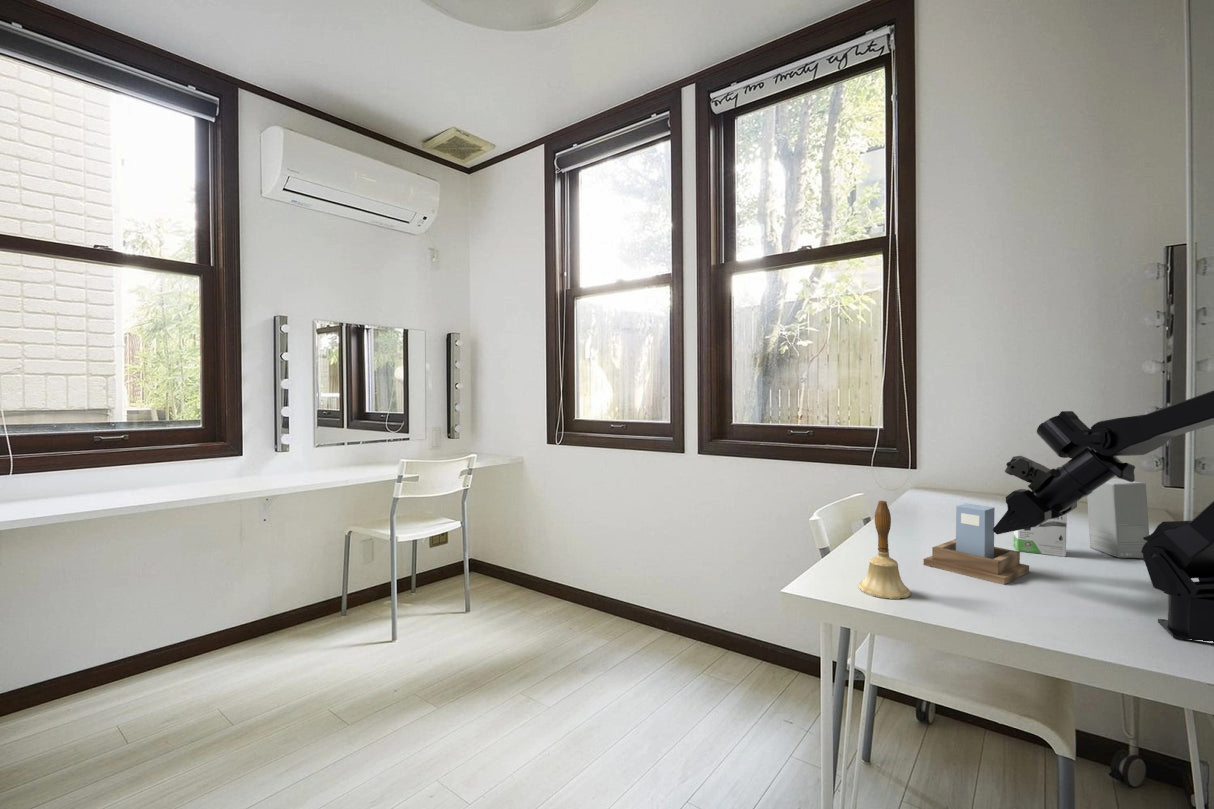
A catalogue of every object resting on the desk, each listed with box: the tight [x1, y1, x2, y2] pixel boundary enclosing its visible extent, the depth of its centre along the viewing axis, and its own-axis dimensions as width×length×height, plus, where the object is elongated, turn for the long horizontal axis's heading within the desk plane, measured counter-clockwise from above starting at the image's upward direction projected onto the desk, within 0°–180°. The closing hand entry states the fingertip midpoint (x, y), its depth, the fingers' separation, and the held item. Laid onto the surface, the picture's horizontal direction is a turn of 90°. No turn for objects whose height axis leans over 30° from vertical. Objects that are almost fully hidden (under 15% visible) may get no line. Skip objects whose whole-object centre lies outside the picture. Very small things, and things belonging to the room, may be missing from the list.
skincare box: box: [1086, 477, 1150, 559], centre depth 117 cm, size 8×7×16 cm
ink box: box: [1012, 513, 1068, 558], centre depth 119 cm, size 9×5×12 cm, turn 60°
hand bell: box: [857, 500, 911, 600], centre depth 97 cm, size 8×8×16 cm
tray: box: [923, 538, 1030, 585], centre depth 108 cm, size 12×14×4 cm
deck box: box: [955, 503, 996, 559], centre depth 108 cm, size 5×5×11 cm
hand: (1004, 528), depth 104 cm, fingers open, 9 cm apart
